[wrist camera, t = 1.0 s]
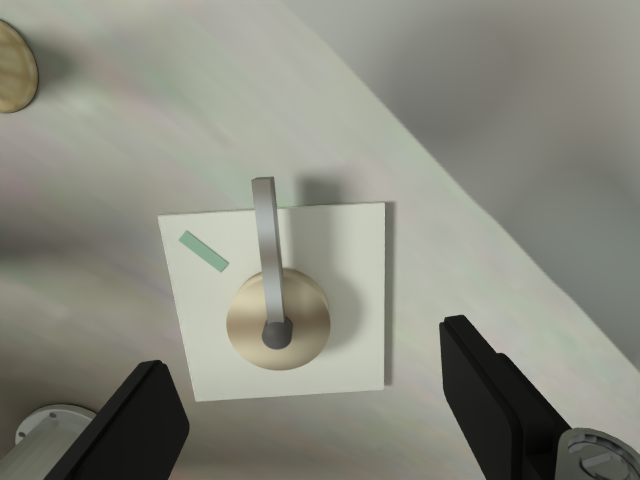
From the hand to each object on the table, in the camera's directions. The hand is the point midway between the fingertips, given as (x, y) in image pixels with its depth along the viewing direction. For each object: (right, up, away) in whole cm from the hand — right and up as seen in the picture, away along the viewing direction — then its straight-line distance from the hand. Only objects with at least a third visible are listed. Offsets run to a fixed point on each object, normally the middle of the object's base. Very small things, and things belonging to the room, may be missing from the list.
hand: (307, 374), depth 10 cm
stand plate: (-4, -4, +26) cm, 27 cm away
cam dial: (-4, +1, +23) cm, 24 cm away
